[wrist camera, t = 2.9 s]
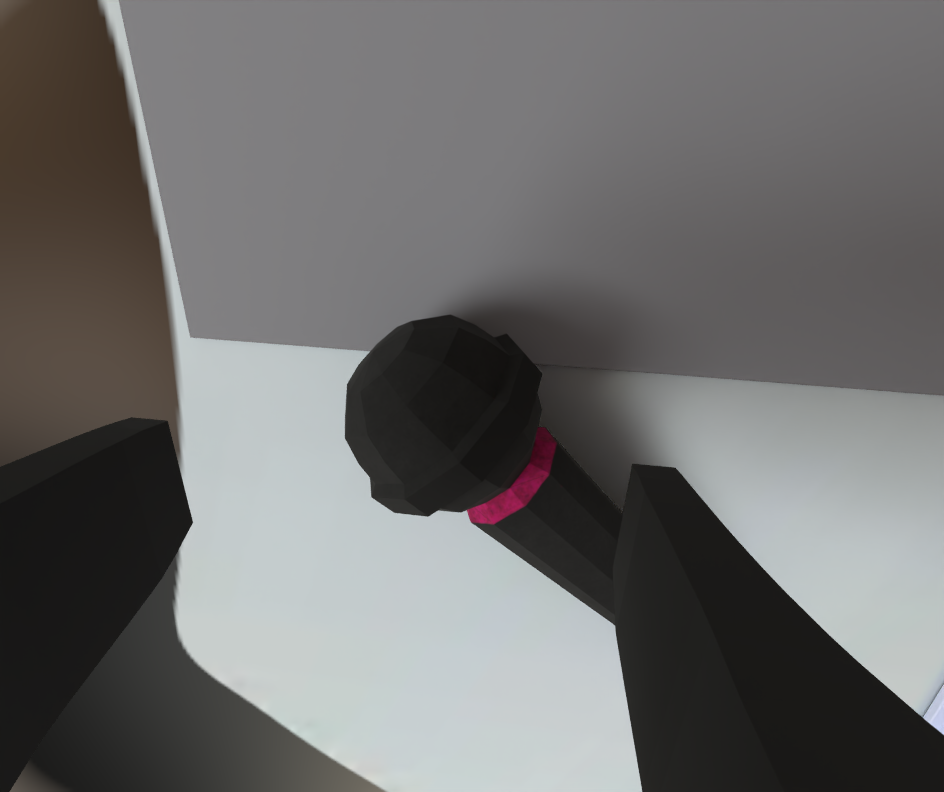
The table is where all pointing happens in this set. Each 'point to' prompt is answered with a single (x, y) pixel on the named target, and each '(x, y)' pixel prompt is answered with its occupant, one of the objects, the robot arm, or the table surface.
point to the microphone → (479, 450)
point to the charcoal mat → (561, 178)
